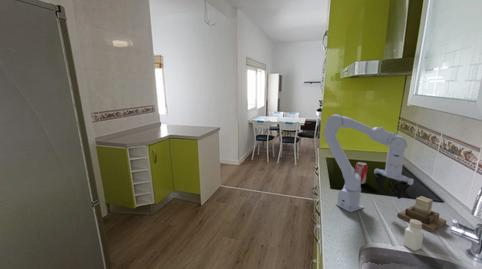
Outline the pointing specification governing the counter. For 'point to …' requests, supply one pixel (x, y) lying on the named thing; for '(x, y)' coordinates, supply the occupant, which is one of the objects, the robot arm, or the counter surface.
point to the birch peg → (423, 206)
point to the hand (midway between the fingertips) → (389, 194)
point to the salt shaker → (413, 235)
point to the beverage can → (361, 171)
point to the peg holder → (423, 219)
